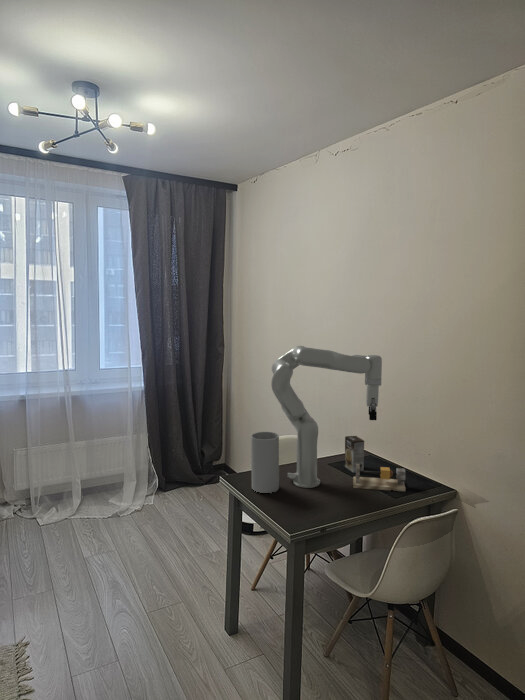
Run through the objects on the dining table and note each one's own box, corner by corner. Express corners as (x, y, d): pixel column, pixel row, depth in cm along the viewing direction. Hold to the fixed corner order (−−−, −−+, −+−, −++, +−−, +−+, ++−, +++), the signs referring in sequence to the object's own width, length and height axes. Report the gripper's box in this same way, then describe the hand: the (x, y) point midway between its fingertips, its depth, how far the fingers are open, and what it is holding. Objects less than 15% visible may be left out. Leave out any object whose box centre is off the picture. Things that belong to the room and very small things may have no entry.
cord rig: (353, 487, 210) (353, 469, 209) (353, 479, 220) (353, 462, 219) (405, 491, 206) (406, 472, 205) (403, 482, 216) (403, 465, 215)
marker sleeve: (380, 479, 210) (381, 470, 210) (380, 475, 215) (380, 466, 214) (390, 479, 210) (390, 470, 209) (389, 476, 214) (389, 467, 213)
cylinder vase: (279, 494, 204) (279, 439, 201) (251, 494, 204) (250, 440, 201) (278, 483, 216) (278, 431, 213) (251, 483, 216) (251, 431, 213)
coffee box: (344, 466, 237) (344, 436, 235) (355, 465, 239) (355, 435, 237) (352, 473, 228) (353, 441, 227) (364, 471, 230) (364, 440, 229)
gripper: (364, 378, 224) (363, 412, 226) (365, 384, 208) (364, 421, 209) (380, 378, 223) (379, 413, 225) (382, 385, 206) (381, 422, 208)
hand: (372, 417), depth 217 cm, fingers open, 9 cm apart
